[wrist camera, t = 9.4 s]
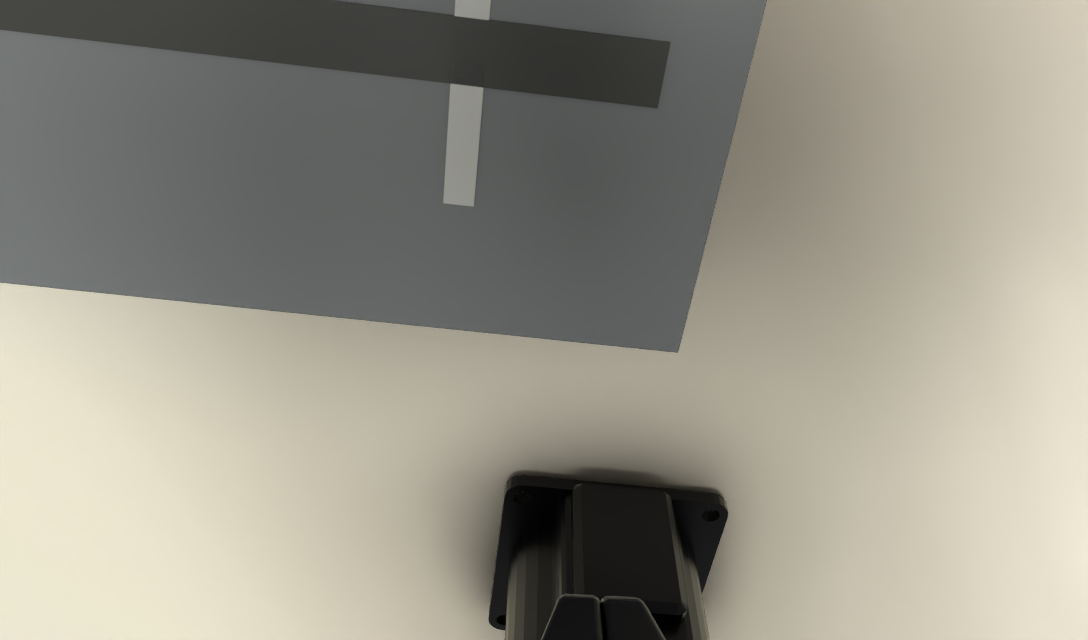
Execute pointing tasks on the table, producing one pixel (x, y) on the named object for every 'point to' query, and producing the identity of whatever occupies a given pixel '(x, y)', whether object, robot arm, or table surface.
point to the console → (375, 156)
